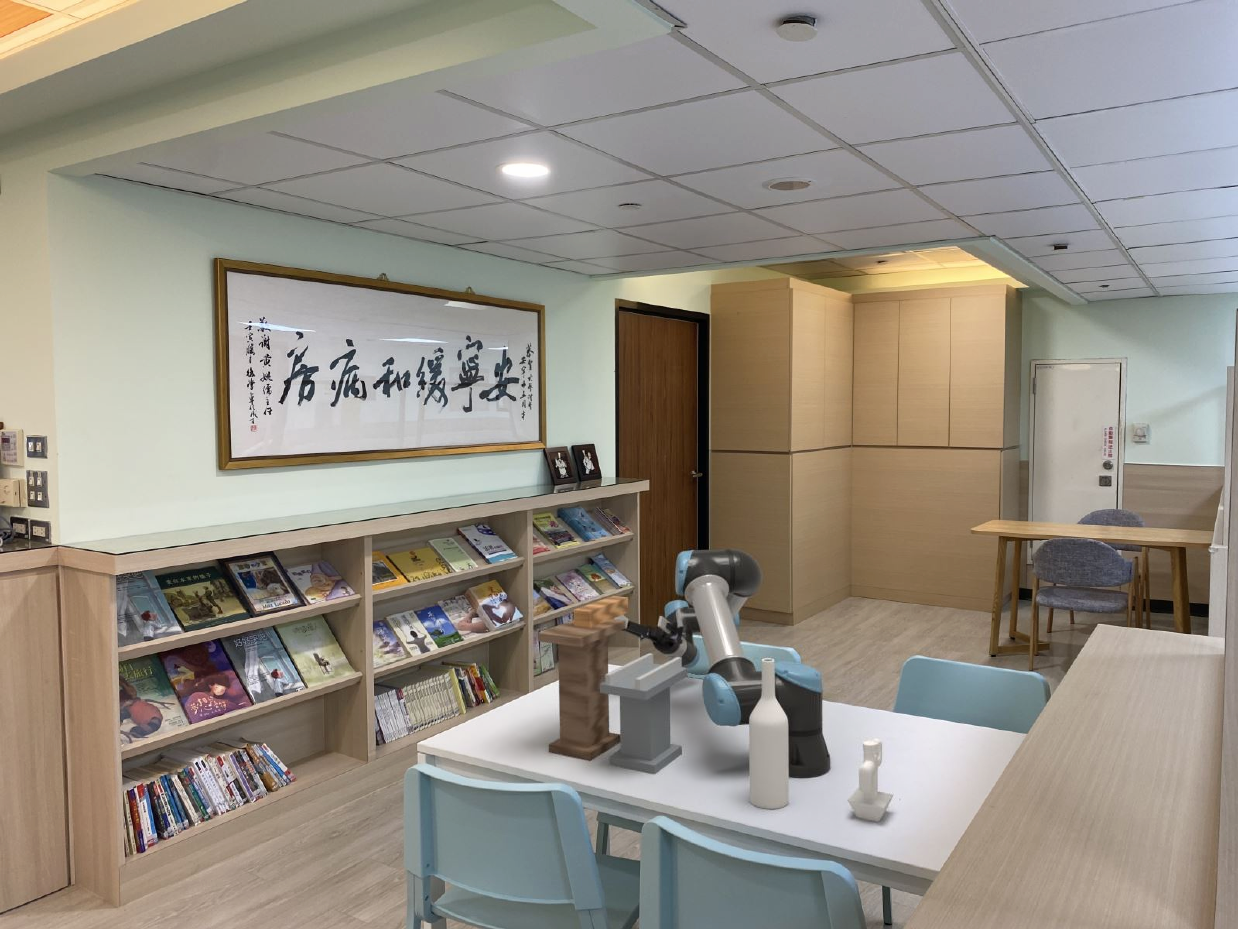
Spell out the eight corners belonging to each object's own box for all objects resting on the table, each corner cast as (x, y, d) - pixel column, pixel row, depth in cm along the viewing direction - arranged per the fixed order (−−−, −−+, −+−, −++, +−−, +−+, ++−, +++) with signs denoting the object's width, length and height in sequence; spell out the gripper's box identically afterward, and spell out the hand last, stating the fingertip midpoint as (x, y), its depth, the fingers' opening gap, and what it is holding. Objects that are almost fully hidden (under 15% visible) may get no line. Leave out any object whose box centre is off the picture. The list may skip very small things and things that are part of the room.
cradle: (644, 741, 227) (643, 652, 225) (688, 749, 221) (687, 658, 219) (601, 770, 208) (599, 673, 207) (647, 779, 202) (645, 680, 201)
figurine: (845, 820, 181) (845, 746, 180) (860, 803, 189) (859, 732, 188) (882, 828, 177) (882, 752, 176) (895, 810, 185) (895, 738, 184)
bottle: (796, 803, 189) (796, 661, 187) (766, 813, 185) (765, 667, 183) (771, 790, 196) (770, 652, 194) (741, 799, 191) (740, 658, 190)
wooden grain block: (613, 611, 239) (612, 596, 238) (628, 612, 236) (628, 597, 236) (573, 626, 222) (573, 609, 222) (589, 627, 220) (589, 611, 220)
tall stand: (587, 730, 235) (585, 615, 234) (627, 738, 229) (625, 620, 228) (540, 757, 217) (537, 633, 215) (582, 766, 211) (580, 638, 209)
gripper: (705, 660, 254) (675, 636, 238) (628, 650, 267) (595, 627, 251) (711, 634, 257) (681, 609, 241) (634, 625, 270) (601, 601, 253)
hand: (637, 618), depth 246 cm, fingers open, 13 cm apart
